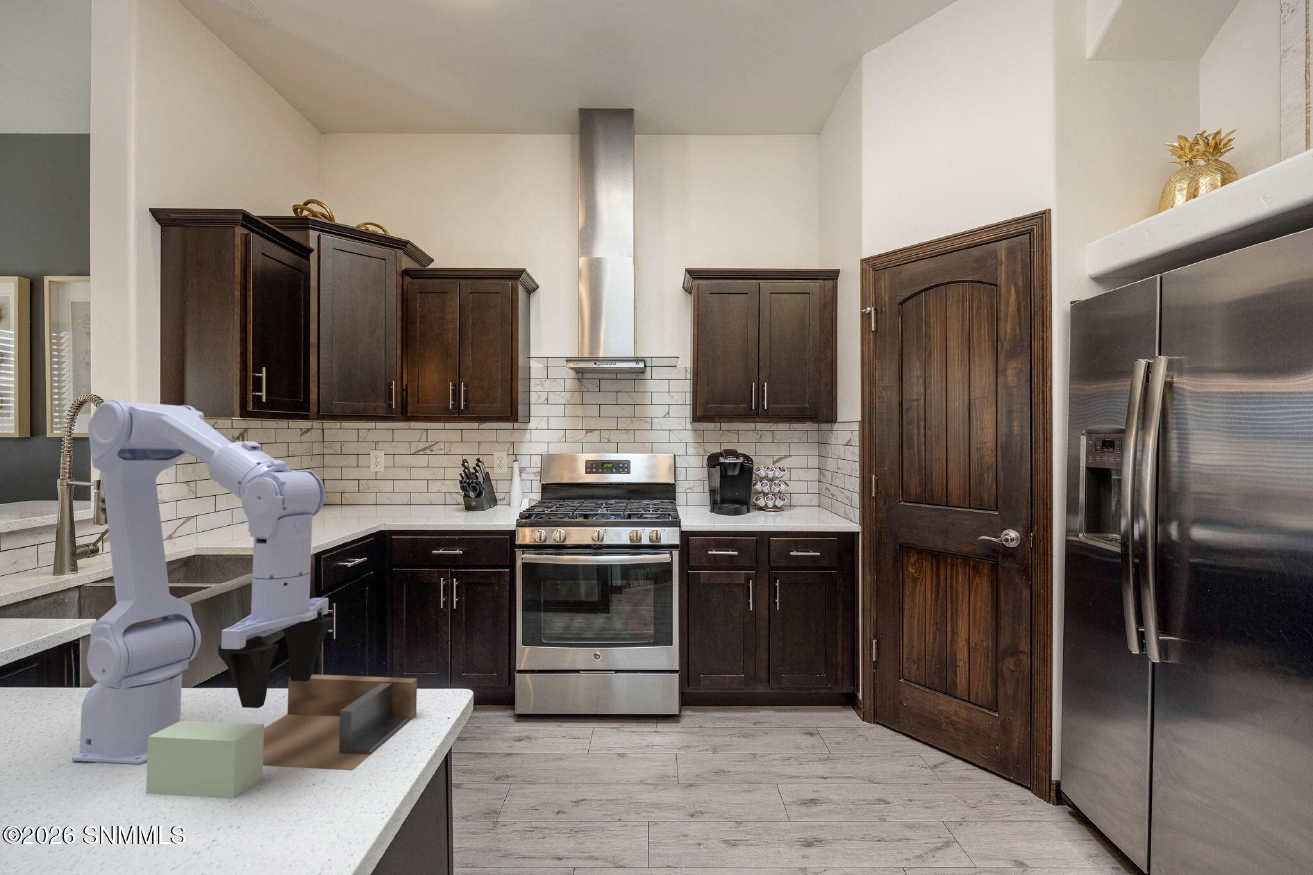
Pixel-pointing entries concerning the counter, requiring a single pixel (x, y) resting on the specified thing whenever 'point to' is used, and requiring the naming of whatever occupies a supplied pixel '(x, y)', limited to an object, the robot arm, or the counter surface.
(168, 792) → the pale green rectangular block
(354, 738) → the bookend
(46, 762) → the counter surface
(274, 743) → the wooden display base
